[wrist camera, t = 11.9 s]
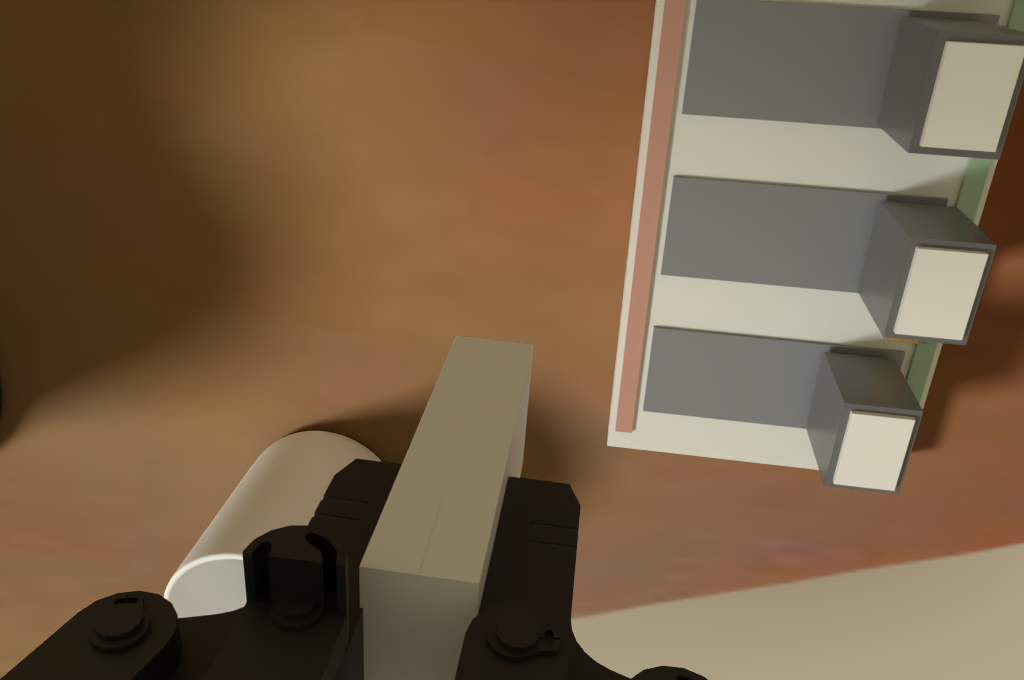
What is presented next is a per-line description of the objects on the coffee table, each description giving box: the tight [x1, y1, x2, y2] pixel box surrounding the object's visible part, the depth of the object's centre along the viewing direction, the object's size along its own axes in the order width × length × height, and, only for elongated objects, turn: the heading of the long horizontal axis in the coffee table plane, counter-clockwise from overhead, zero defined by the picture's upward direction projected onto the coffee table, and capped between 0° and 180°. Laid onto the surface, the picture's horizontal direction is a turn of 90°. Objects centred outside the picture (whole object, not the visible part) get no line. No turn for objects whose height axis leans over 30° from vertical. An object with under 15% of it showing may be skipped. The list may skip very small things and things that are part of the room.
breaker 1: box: [806, 352, 923, 494], centre depth 37 cm, size 3×4×5 cm
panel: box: [607, 0, 1024, 470], centre depth 36 cm, size 14×30×2 cm, turn 178°
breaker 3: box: [858, 201, 997, 345], centre depth 33 cm, size 3×4×5 cm
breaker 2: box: [877, 16, 1024, 160], centre depth 30 cm, size 3×4×5 cm
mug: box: [164, 431, 382, 618], centre depth 44 cm, size 9×12×11 cm
